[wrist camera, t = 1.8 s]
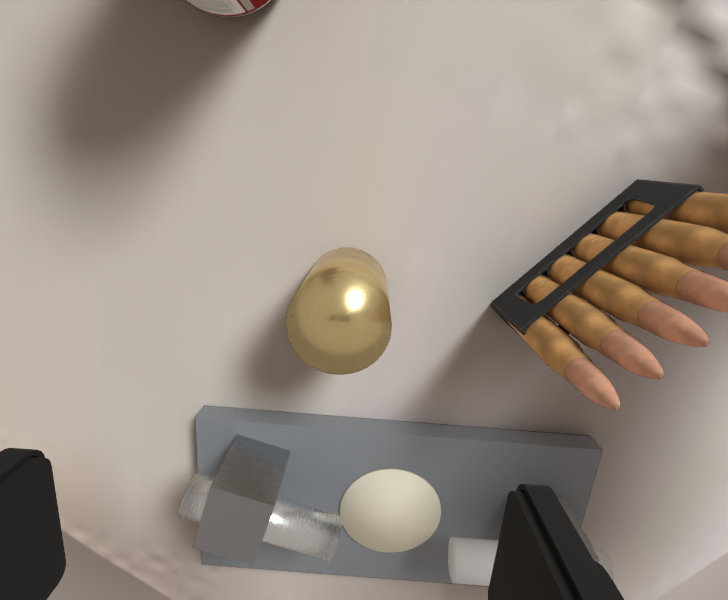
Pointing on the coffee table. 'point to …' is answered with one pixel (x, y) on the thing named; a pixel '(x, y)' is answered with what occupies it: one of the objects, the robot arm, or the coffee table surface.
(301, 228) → the coffee table surface
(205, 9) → the soda can
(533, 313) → the ammunition clip
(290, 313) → the tan rounded cylinder
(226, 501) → the grey block on rod
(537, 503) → the robot arm
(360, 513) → the shaft rig
